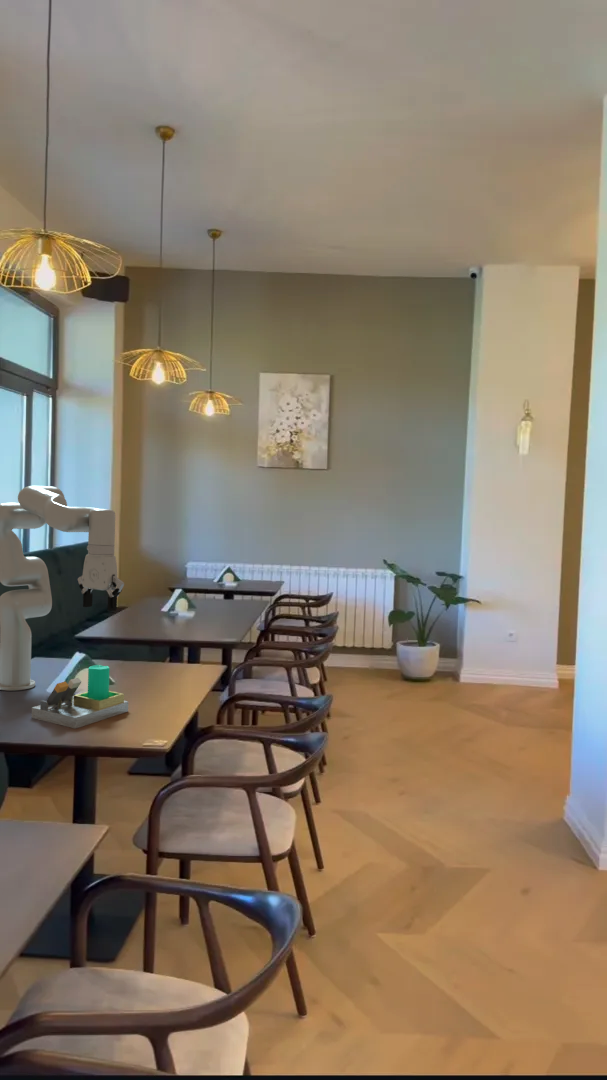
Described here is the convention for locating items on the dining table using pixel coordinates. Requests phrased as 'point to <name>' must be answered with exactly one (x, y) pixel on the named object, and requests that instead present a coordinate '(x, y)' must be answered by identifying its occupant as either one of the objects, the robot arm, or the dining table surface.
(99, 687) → the candle
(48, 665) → the dining table surface
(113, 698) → the panel
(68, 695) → the block
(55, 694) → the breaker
